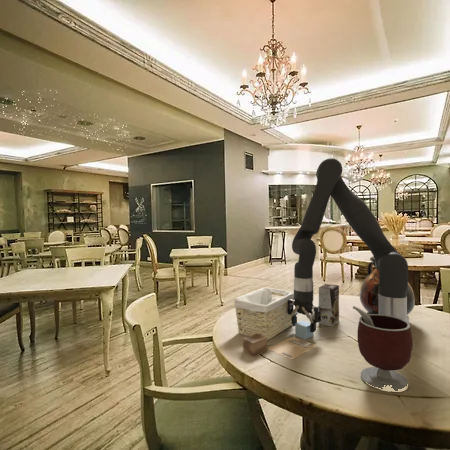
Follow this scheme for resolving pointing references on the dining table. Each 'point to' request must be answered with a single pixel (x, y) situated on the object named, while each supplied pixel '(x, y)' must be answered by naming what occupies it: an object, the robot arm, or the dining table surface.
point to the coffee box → (329, 304)
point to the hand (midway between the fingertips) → (303, 328)
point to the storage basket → (263, 312)
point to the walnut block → (254, 344)
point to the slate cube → (303, 329)
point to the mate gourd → (384, 348)
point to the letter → (291, 347)
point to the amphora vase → (371, 291)
